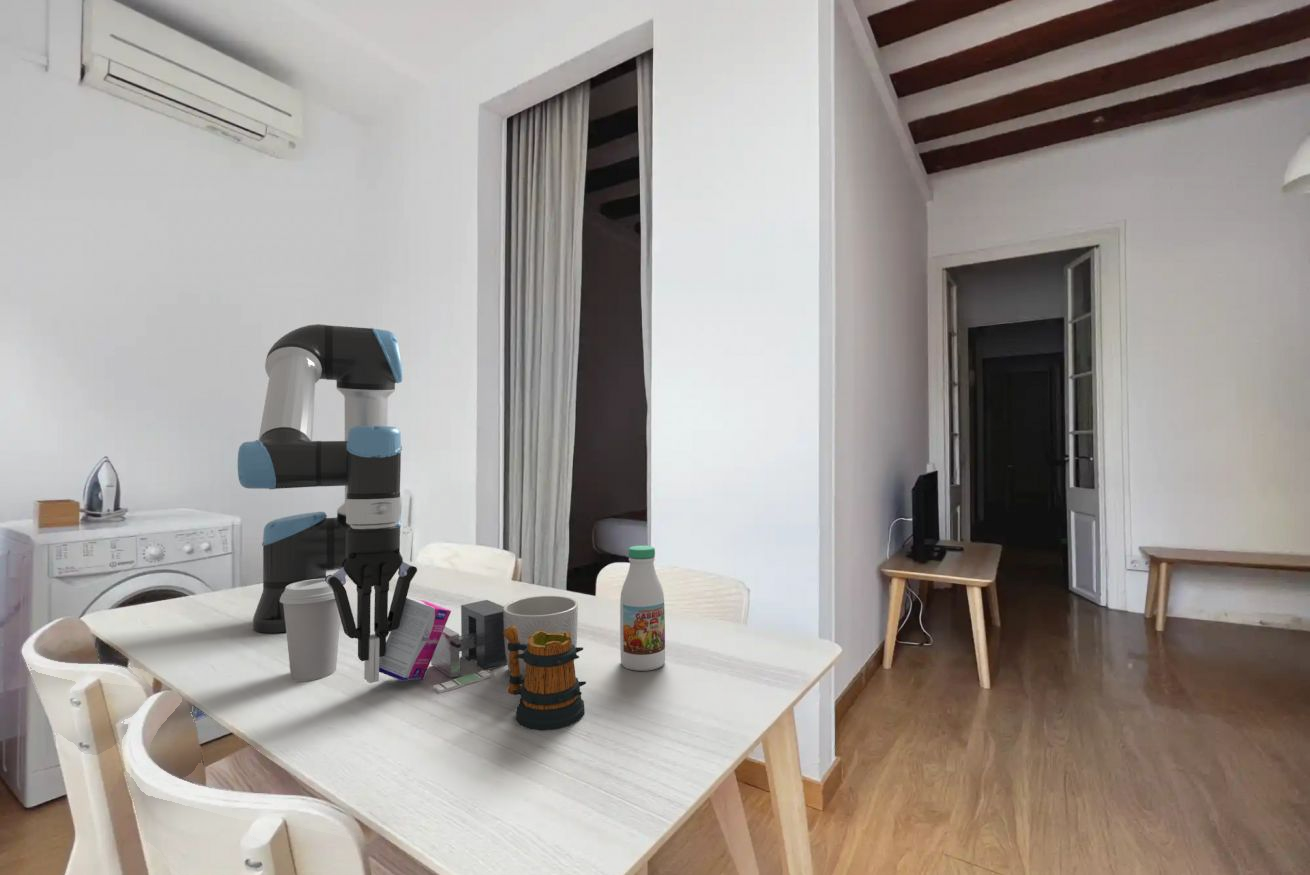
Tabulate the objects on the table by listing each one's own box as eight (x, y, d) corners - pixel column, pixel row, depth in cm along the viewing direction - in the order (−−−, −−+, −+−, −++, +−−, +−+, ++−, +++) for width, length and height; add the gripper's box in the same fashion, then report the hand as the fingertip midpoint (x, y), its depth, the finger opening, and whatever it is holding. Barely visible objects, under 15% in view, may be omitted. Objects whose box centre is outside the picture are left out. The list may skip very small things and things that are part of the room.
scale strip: (433, 688, 88) (433, 685, 88) (487, 672, 94) (487, 669, 94) (439, 693, 86) (439, 690, 86) (493, 676, 93) (493, 673, 93)
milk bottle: (611, 664, 97) (610, 547, 97) (642, 651, 103) (641, 541, 103) (643, 676, 92) (642, 553, 92) (674, 662, 98) (673, 546, 98)
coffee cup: (337, 658, 101) (336, 574, 102) (354, 672, 95) (353, 583, 95) (274, 673, 95) (273, 584, 95) (287, 690, 88) (287, 594, 88)
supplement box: (404, 682, 86) (433, 607, 90) (372, 670, 88) (403, 596, 91) (425, 680, 92) (452, 609, 95) (395, 668, 93) (423, 599, 96)
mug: (600, 704, 82) (599, 624, 82) (560, 738, 73) (559, 648, 73) (526, 689, 87) (525, 615, 88) (481, 719, 78) (480, 635, 78)
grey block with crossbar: (431, 664, 97) (430, 625, 97) (495, 646, 105) (494, 610, 106) (457, 682, 90) (457, 640, 90) (524, 661, 98) (523, 623, 98)
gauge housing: (461, 656, 101) (461, 605, 102) (487, 649, 105) (487, 599, 105) (484, 670, 95) (484, 615, 95) (511, 662, 98) (511, 609, 98)
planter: (535, 652, 103) (534, 592, 103) (592, 663, 98) (591, 599, 98) (487, 677, 92) (486, 610, 92) (549, 691, 87) (548, 620, 87)
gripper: (333, 531, 80) (330, 699, 79) (424, 523, 89) (423, 675, 88) (320, 526, 86) (318, 684, 85) (407, 520, 95) (406, 662, 94)
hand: (371, 679), depth 87 cm, fingers closed
